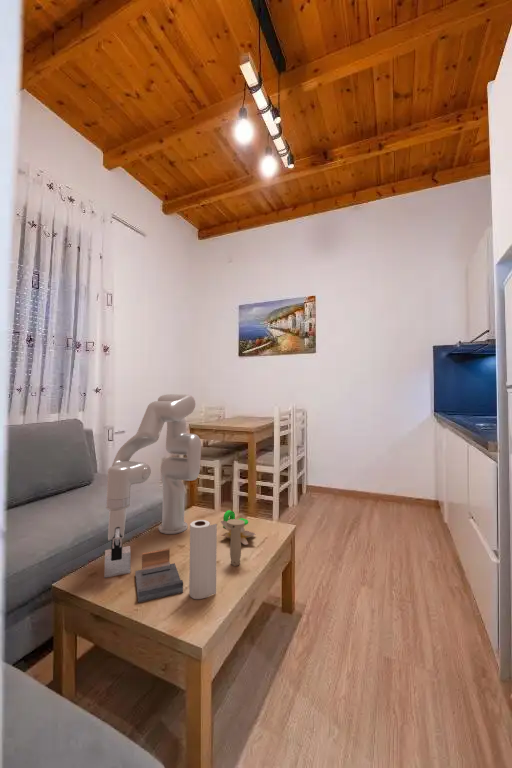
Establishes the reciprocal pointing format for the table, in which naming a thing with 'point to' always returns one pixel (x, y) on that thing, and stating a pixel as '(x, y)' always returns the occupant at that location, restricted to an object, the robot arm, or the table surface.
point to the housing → (117, 563)
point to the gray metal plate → (158, 584)
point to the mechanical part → (232, 517)
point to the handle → (235, 540)
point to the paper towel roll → (202, 559)
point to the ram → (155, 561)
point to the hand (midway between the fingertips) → (116, 553)
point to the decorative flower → (243, 533)
